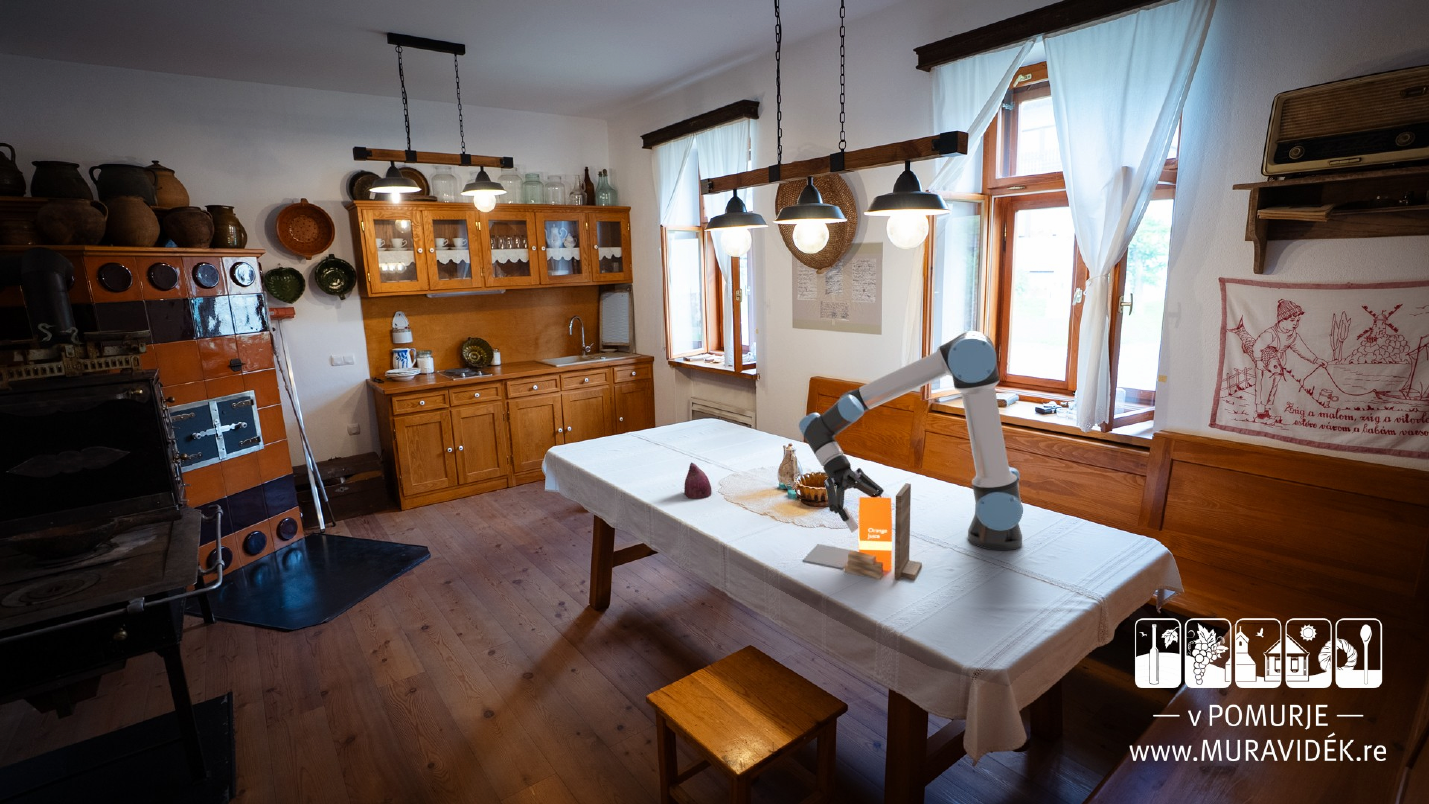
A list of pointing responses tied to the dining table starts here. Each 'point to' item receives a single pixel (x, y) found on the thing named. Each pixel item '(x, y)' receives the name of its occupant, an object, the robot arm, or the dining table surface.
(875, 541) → the orange juice
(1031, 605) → the dining table surface
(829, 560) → the grey mat
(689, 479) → the vegetable
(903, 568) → the walnut rack
